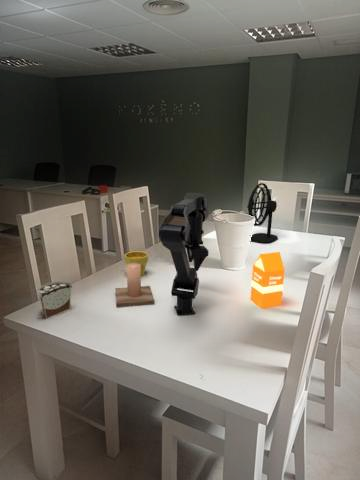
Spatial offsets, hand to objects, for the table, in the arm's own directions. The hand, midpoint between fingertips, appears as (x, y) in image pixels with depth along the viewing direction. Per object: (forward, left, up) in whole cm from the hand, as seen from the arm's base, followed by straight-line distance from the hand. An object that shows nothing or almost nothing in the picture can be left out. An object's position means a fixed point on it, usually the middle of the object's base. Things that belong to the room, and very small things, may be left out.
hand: (193, 266), depth 132 cm
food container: (-2, +51, -13) cm, 53 cm away
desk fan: (+76, -64, -13) cm, 100 cm away
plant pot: (+28, +19, -13) cm, 36 cm away
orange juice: (-9, -27, -13) cm, 31 cm away
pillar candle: (+4, +22, -11) cm, 25 cm away
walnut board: (+4, +22, -13) cm, 26 cm away
